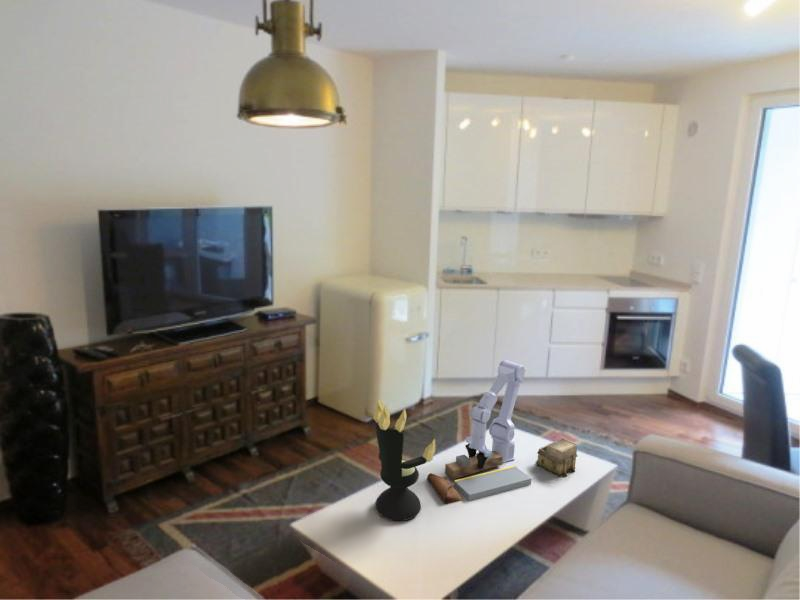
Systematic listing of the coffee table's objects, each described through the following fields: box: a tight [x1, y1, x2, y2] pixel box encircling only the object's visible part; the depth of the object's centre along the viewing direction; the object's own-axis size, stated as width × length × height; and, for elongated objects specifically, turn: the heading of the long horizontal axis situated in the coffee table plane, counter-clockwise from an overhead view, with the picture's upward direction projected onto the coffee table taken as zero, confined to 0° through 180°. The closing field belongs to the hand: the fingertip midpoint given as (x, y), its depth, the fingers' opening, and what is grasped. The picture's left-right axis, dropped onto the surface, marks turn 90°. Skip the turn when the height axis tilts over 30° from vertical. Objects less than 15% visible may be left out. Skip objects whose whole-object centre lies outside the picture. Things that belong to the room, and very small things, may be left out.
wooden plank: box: [444, 450, 503, 480], centre depth 232 cm, size 26×6×4 cm, turn 121°
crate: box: [455, 454, 471, 467], centre depth 228 cm, size 4×4×2 cm
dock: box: [453, 465, 532, 502], centre depth 222 cm, size 30×11×3 cm, turn 117°
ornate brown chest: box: [536, 437, 578, 478], centre depth 238 cm, size 15×14×11 cm
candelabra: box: [373, 398, 436, 522], centre depth 197 cm, size 19×22×45 cm
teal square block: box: [478, 449, 493, 460], centre depth 234 cm, size 4×4×2 cm
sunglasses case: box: [426, 472, 464, 505], centre depth 217 cm, size 18×7×7 cm
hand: (476, 464), depth 232 cm, fingers closed on wooden plank, 6 cm apart
